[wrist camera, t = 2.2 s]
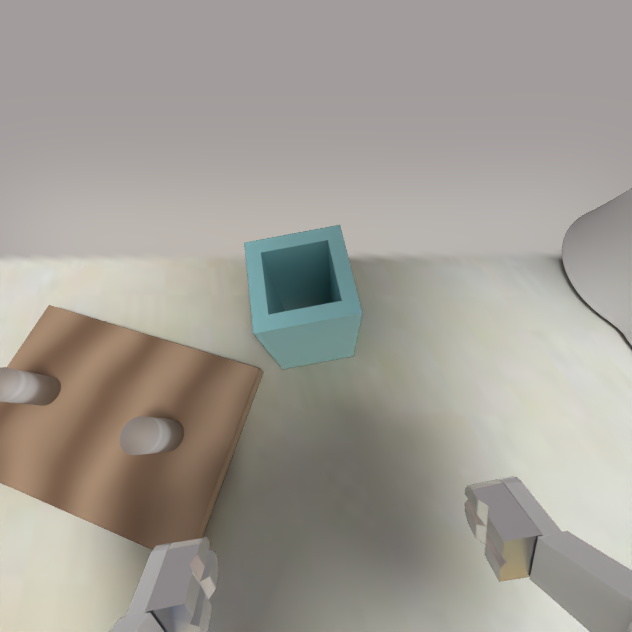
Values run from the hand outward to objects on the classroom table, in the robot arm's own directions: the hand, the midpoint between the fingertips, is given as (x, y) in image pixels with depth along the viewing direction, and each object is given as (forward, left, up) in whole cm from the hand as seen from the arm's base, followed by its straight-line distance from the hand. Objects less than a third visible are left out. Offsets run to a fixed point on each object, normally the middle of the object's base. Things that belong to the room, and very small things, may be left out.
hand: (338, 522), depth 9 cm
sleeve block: (+5, -11, -15) cm, 19 cm away
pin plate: (+19, +1, -15) cm, 25 cm away
